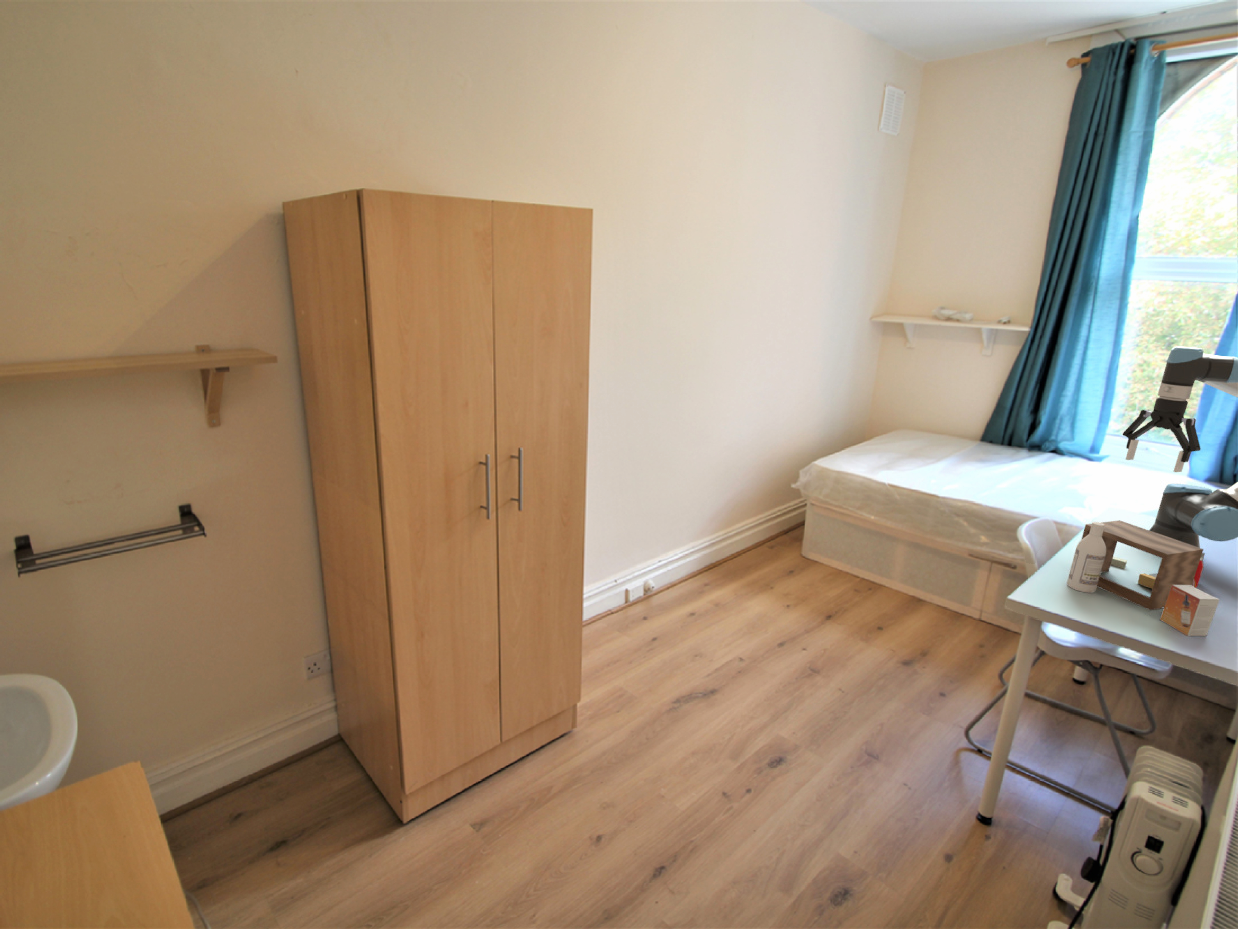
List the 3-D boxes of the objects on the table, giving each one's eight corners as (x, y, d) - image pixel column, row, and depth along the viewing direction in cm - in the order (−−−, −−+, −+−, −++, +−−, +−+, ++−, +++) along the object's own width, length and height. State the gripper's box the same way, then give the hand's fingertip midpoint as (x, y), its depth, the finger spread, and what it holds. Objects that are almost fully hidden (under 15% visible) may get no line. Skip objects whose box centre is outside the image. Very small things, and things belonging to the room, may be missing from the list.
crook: (1179, 575, 199) (1186, 547, 197) (1219, 588, 190) (1226, 559, 188) (1132, 581, 193) (1139, 553, 190) (1172, 596, 183) (1179, 566, 181)
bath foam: (1101, 592, 185) (1119, 527, 179) (1084, 594, 182) (1102, 529, 177) (1077, 581, 191) (1094, 518, 185) (1060, 584, 188) (1078, 520, 183)
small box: (1159, 620, 170) (1170, 584, 167) (1178, 620, 170) (1190, 584, 167) (1187, 636, 162) (1200, 599, 159) (1207, 636, 163) (1220, 599, 160)
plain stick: (1075, 555, 211) (1076, 549, 210) (1076, 554, 212) (1078, 547, 212) (1124, 569, 202) (1126, 562, 201) (1125, 567, 204) (1127, 560, 203)
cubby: (1105, 570, 200) (1119, 520, 195) (1185, 603, 180) (1203, 549, 176) (1071, 575, 195) (1085, 524, 190) (1150, 610, 175) (1167, 554, 170)
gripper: (1121, 391, 205) (1103, 455, 211) (1214, 406, 183) (1191, 477, 189) (1135, 391, 208) (1118, 454, 214) (1229, 406, 186) (1206, 476, 192)
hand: (1152, 465), depth 201 cm, fingers open, 13 cm apart
